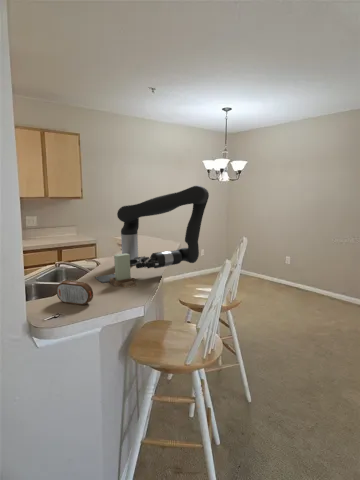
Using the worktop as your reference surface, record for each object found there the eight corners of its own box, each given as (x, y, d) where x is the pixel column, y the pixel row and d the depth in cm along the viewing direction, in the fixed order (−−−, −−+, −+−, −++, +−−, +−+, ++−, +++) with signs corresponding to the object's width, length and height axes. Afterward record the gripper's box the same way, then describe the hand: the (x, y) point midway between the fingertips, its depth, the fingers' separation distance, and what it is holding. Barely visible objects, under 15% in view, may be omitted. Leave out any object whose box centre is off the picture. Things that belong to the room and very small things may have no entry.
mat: (95, 278, 153) (95, 277, 152) (122, 273, 160) (122, 272, 160) (102, 283, 144) (102, 281, 144) (130, 278, 152) (130, 276, 152)
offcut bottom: (120, 287, 140) (120, 285, 140) (133, 284, 144) (132, 282, 143) (124, 289, 137) (124, 287, 137) (136, 286, 141) (136, 284, 140)
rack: (109, 282, 145) (109, 278, 145) (127, 279, 150) (127, 275, 150) (116, 286, 139) (115, 281, 139) (134, 282, 144) (134, 278, 144)
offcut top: (121, 285, 140) (121, 283, 140) (132, 283, 143) (131, 280, 143) (125, 287, 137) (125, 284, 137) (135, 284, 141) (135, 282, 141)
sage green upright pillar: (115, 282, 145) (114, 254, 143) (127, 280, 148) (126, 253, 146) (118, 284, 142) (117, 256, 140) (130, 282, 145) (129, 254, 143)
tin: (94, 304, 118) (93, 282, 117) (89, 307, 115) (88, 284, 114) (61, 299, 123) (59, 279, 122) (55, 302, 120) (54, 281, 119)
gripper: (154, 249, 161) (125, 253, 152) (169, 254, 149) (138, 259, 140) (154, 264, 162) (125, 269, 153) (169, 269, 150) (139, 275, 141)
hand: (132, 264), depth 146 cm, fingers open, 8 cm apart
